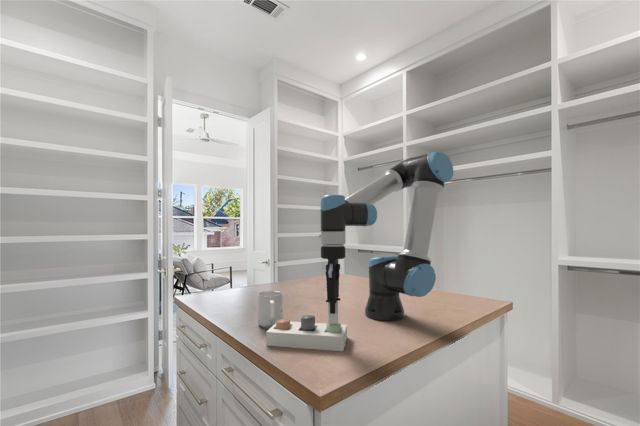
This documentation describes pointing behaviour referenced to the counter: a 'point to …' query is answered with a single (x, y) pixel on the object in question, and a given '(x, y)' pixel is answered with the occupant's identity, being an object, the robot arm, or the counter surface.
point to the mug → (270, 308)
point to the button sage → (333, 328)
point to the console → (307, 337)
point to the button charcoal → (308, 323)
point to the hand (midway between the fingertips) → (333, 323)
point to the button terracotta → (283, 324)
